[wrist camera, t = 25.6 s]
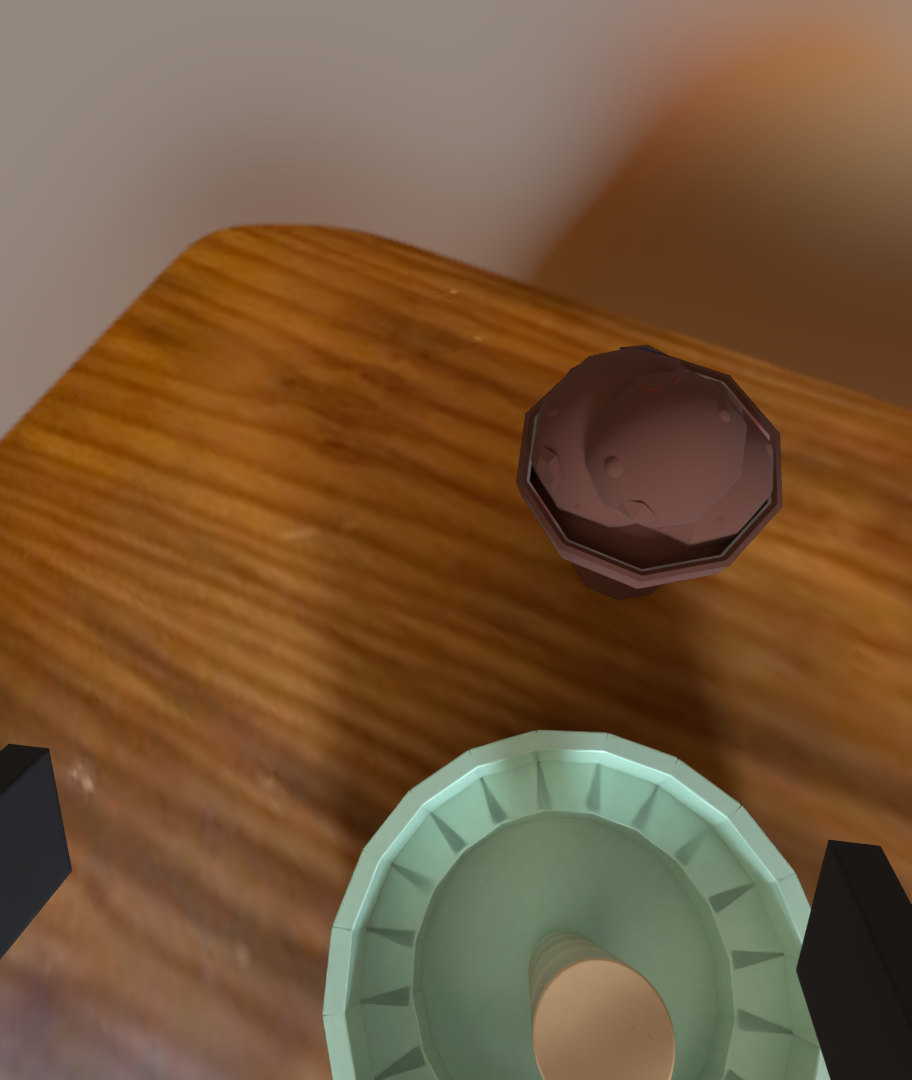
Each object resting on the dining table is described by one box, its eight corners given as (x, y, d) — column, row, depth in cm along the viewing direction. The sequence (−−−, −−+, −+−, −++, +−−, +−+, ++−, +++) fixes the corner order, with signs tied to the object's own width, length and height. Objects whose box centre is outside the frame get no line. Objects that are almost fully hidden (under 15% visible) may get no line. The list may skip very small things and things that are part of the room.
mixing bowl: (289, 902, 34) (241, 903, 29) (603, 685, 37) (618, 646, 31) (513, 1356, 27) (510, 1482, 22) (877, 1046, 30) (961, 1082, 25)
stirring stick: (513, 960, 32) (504, 1012, 18) (575, 914, 33) (615, 928, 18) (559, 1036, 31) (589, 1160, 16) (622, 986, 31) (706, 1064, 17)
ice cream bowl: (770, 541, 40) (897, 358, 26) (633, 695, 37) (696, 579, 23) (611, 427, 44) (651, 215, 30) (476, 559, 41) (452, 392, 27)
